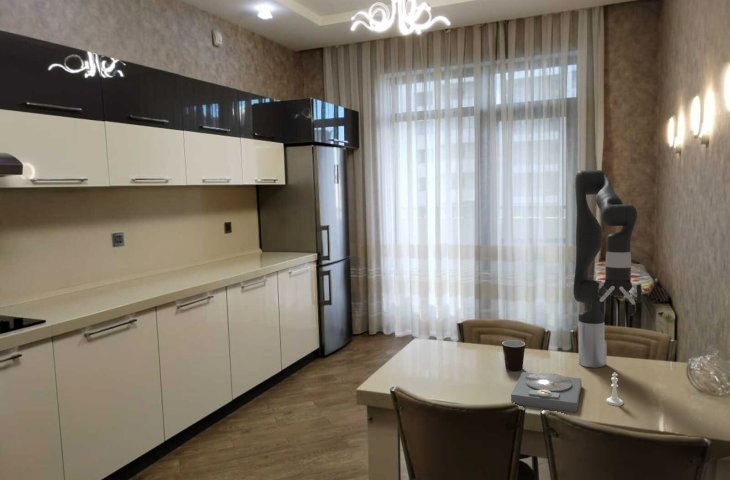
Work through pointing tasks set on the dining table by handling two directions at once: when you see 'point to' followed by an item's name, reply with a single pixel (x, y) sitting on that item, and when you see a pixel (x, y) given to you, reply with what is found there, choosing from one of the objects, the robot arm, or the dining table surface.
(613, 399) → the chess piece
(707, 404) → the dining table surface
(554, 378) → the kitchen scale
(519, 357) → the coffee mug
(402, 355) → the dining table surface
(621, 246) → the robot arm
